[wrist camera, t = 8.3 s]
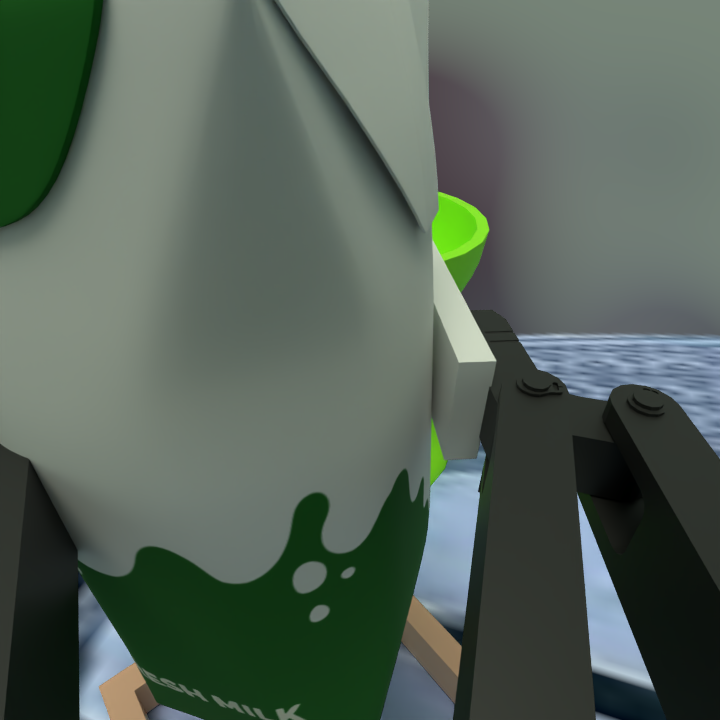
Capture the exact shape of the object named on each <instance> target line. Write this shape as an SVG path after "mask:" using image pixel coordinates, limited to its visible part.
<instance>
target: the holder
mask: <svg viewBox="0 0 720 720" xmlns="http://www.w3.org/2000/svg"><path fill="white" fill-rule="evenodd" d="M401 642H402V643H403V644H404V645H405V646H406V647H407V649H408V650H409V651H410V652H411V653H412V654H413V656H414V657H415V658H416V659H417V660H418V661H419V663H420V664H421V665H422V666H423V667H424V669H425V670H426V671H427V672H428V673H429V674H430V676H431V677H432V678H433V679H434V680H435V681H436V683H437V684H438V685H439V686H440V687H441V688H442V690H443V691H444V692H445V693H446V694H447V695H448V697H449V698H450V699H451V700H452V701H453V702H454V704H455V699H456V691H457V682H458V674H459V666H460V657H461V649H462V646H461V645H460V644H459V643H458V642H457V641H456V640H455V639H454V638H453V637H452V636H451V635H450V634H449V633H448V632H447V630H446V629H445V628H444V627H443V626H442V625H441V624H440V623H439V622H438V621H437V620H436V619H435V618H434V617H433V616H432V615H431V613H430V612H429V611H428V610H427V609H426V608H425V607H424V606H423V605H422V604H421V603H420V602H419V601H418V600H417V599H416V598H415V596H414V595H413V597H412V601H411V605H410V609H409V613H408V617H407V620H406V624H405V628H404V632H403V636H402V640H401ZM99 689H100V692H101V694H102V697H103V700H104V703H105V706H106V708H107V711H108V714H109V717H110V720H149V718H148V716H147V713H148V712H149V711H151V710H152V709H153V708H155V707H156V706H157V705H159V703H157V702H156V700H155V698H154V696H153V695H152V693H151V691H150V689H149V687H148V685H147V684H146V682H145V680H144V678H143V676H142V674H141V673H140V671H139V669H138V667H137V665H136V663H133V664H132V665H130V666H129V667H127V668H126V669H124V670H123V671H121V672H120V673H118V674H117V675H115V676H114V677H112V678H111V679H109V680H108V681H106V682H105V683H103V684H102V685H100V686H99Z"/></svg>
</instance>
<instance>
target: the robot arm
mask: <svg viewBox="0 0 720 720" xmlns="http://www.w3.org/2000/svg"><path fill="white" fill-rule="evenodd" d="M432 244H433V291H434V308H433V363H432V416H431V417H432V420H433V424H434V427H435V431H436V434H437V437H438V441H439V444H440V448H441V451H442V454H443V458H444V460H456V459H476V458H477V455H478V450H479V445H480V440H481V443H482V445H483V448H484V451H485V453H486V458H485V462H484V467H483V471H482V476H481V481H480V485H479V490H478V492H480V498H479V507H478V515H477V523H476V532H475V540H474V548H473V557H472V565H471V574H470V582H469V590H468V599H467V607H466V615H465V624H464V632H463V640H462V649H461V657H460V666H459V674H458V682H457V691H456V699H455V707H454V716H453V720H596V716H595V704H594V692H593V680H592V668H591V656H590V644H589V632H588V620H587V608H586V596H585V584H584V572H583V560H582V548H581V536H580V523H579V511H578V499H577V494H578V496H579V499H580V501H581V504H582V506H583V509H584V511H585V514H586V516H587V519H588V521H589V524H590V526H591V529H592V532H593V534H594V537H595V539H596V542H597V544H598V547H599V549H600V552H601V554H602V557H603V559H604V562H605V564H606V567H607V569H608V572H609V575H610V577H611V580H612V582H613V585H614V587H615V590H616V592H617V595H618V597H619V600H620V602H621V605H622V607H623V610H624V613H625V615H626V618H627V620H628V623H629V625H630V628H631V630H632V633H633V635H634V638H635V640H636V643H637V645H638V648H639V650H640V653H641V656H642V658H643V661H644V663H645V666H646V668H647V671H648V673H649V676H650V678H651V681H652V683H653V686H654V688H655V691H656V694H657V696H658V699H659V701H660V704H661V706H662V709H663V711H664V714H665V716H666V719H667V720H720V459H719V457H718V456H717V455H716V453H715V452H714V451H713V449H712V448H711V447H710V445H709V444H708V443H707V441H706V440H705V439H704V437H703V436H702V435H701V433H700V432H699V431H698V429H697V428H696V427H695V425H694V424H693V423H692V421H691V420H690V418H689V417H688V416H687V414H686V413H685V412H684V410H683V409H682V408H681V406H680V405H679V404H678V403H677V402H676V401H674V400H673V399H672V398H671V397H669V396H668V395H666V394H664V393H662V392H661V391H659V390H656V389H654V388H651V387H647V386H641V385H634V384H629V385H621V386H619V387H617V388H614V389H613V390H612V392H611V394H610V396H609V399H608V401H603V400H597V399H591V398H585V397H579V396H575V395H571V394H569V392H568V390H567V388H566V385H565V384H564V383H563V382H562V381H561V380H560V379H559V378H557V377H555V376H553V375H551V374H549V373H548V372H544V371H540V370H537V368H536V367H535V365H534V363H533V362H532V360H531V359H530V357H529V355H528V354H527V352H526V351H525V349H524V347H523V346H522V344H521V343H520V342H519V339H518V338H517V336H516V335H515V333H513V330H512V328H511V327H510V325H509V324H508V322H507V320H506V319H505V318H503V317H502V316H500V315H499V314H497V313H496V312H494V311H493V310H474V311H473V310H472V311H470V310H469V308H468V306H467V304H466V302H465V301H464V298H463V297H462V295H461V293H460V291H459V289H458V287H457V285H456V283H455V281H454V279H453V278H452V276H451V274H450V272H449V270H448V268H447V266H446V264H445V262H444V260H443V259H442V257H441V255H440V253H439V251H438V249H437V247H436V245H435V243H434V241H433V240H432ZM0 720H79V627H78V550H77V548H76V546H75V544H74V542H73V540H72V539H71V537H70V535H69V533H68V531H67V529H66V527H65V525H64V524H63V522H62V520H61V518H60V516H59V514H58V512H57V510H56V509H55V507H54V505H53V503H52V501H51V499H50V497H49V495H48V494H47V492H46V490H45V488H44V486H43V484H42V482H41V480H40V479H39V477H38V475H37V473H36V471H35V469H34V467H33V465H32V464H31V462H30V460H29V459H28V458H26V457H23V456H21V455H19V454H17V453H15V452H13V451H11V450H9V449H7V448H6V447H4V446H3V445H1V444H0Z"/></svg>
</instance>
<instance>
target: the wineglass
mask: <svg viewBox="0 0 720 720" xmlns="http://www.w3.org/2000/svg"><path fill="white" fill-rule="evenodd" d="M438 203H439V211H438V213H437V214H436V216H435V218H434V220H433V222H432V240H433V241H434V243H435V245H436V247H437V249H438V251H439V253H440V255H441V257H442V259H443V260H444V262H445V264H446V266H447V268H448V270H449V272H450V274H451V276H452V278H453V279H454V281H455V283H456V285H457V287H458V289H459V291H460V293H461V292H462V290H463V289H464V287H465V286H466V284H467V283H468V281H469V280H470V278H471V277H472V275H473V273H474V271H475V269H476V267H477V265H478V263H479V260H480V257H481V254H482V251H483V248H484V245H485V242H486V238H487V235H488V232H489V227H488V224H487V220H486V218H485V217H484V216H483V215H482V214H481V213H480V212H479V211H478V210H477V209H476V208H475V207H473V206H471V205H470V204H468V203H466V202H464V201H462V200H460V199H458V198H455V197H453V196H450V195H447V194H443V193H441V192H438ZM447 461H448V460H444V458H443V454H442V451H441V448H440V444H439V441H438V437H437V434H436V431H435V427H434V424H433V420H432V418H431V470H430V486H431V485H432V484H433V482H434V481H435V480H436V479H437V478H438V476H439V475H440V474H441V473H442V472H443V470H444V469H445V466H446V463H447Z"/></svg>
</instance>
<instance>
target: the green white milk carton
mask: <svg viewBox="0 0 720 720" xmlns="http://www.w3.org/2000/svg"><path fill="white" fill-rule="evenodd" d="M428 20H429V0H0V444H1V445H3V446H4V447H6V448H7V449H9V450H11V451H13V452H15V453H17V454H19V455H21V456H23V457H26V458H28V459H29V460H30V462H31V464H32V465H33V467H34V469H35V471H36V473H37V475H38V477H39V479H40V480H41V482H42V484H43V486H44V488H45V490H46V492H47V494H48V495H49V497H50V499H51V501H52V503H53V505H54V507H55V509H56V510H57V512H58V514H59V516H60V518H61V520H62V522H63V524H64V525H65V527H66V529H67V531H68V533H69V535H70V537H71V539H72V540H73V542H74V544H75V546H76V548H77V550H78V571H79V573H80V574H81V576H82V577H83V579H84V581H85V582H86V584H87V585H88V587H89V588H90V590H91V592H92V593H93V595H94V596H95V598H96V600H97V601H98V603H99V604H100V606H101V607H102V609H103V611H104V612H105V614H106V615H107V617H108V619H109V620H110V622H111V623H112V625H113V626H114V628H115V630H116V631H117V633H118V634H119V636H120V638H121V639H122V641H123V642H124V644H125V645H126V647H127V649H128V650H129V652H130V654H131V656H132V658H133V660H134V661H135V663H136V665H137V667H138V669H139V671H140V673H141V674H142V676H143V678H144V680H145V682H146V684H147V685H148V687H149V689H150V691H151V693H152V695H153V696H154V698H155V700H156V702H157V703H159V704H162V705H164V706H167V707H170V708H173V709H176V710H179V711H182V712H184V713H187V714H190V715H193V716H196V717H199V718H201V719H204V720H380V718H381V714H382V711H383V707H384V703H385V699H386V696H387V692H388V688H389V685H390V681H391V677H392V674H393V670H394V666H395V663H396V659H397V655H398V651H399V648H400V644H401V640H402V636H403V632H404V628H405V624H406V620H407V617H408V613H409V609H410V605H411V601H412V597H413V593H414V589H415V585H416V581H417V577H418V573H419V569H420V564H421V560H422V556H423V551H424V546H425V542H426V536H427V530H428V518H429V506H430V470H431V418H432V417H431V416H432V363H433V308H434V291H433V244H432V222H433V220H434V218H435V216H436V214H437V213H438V211H439V203H438V181H437V170H436V158H435V147H434V140H433V131H432V124H431V116H430V109H429V85H428V84H429V82H428V81H429V79H428V22H429V21H428Z"/></svg>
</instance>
